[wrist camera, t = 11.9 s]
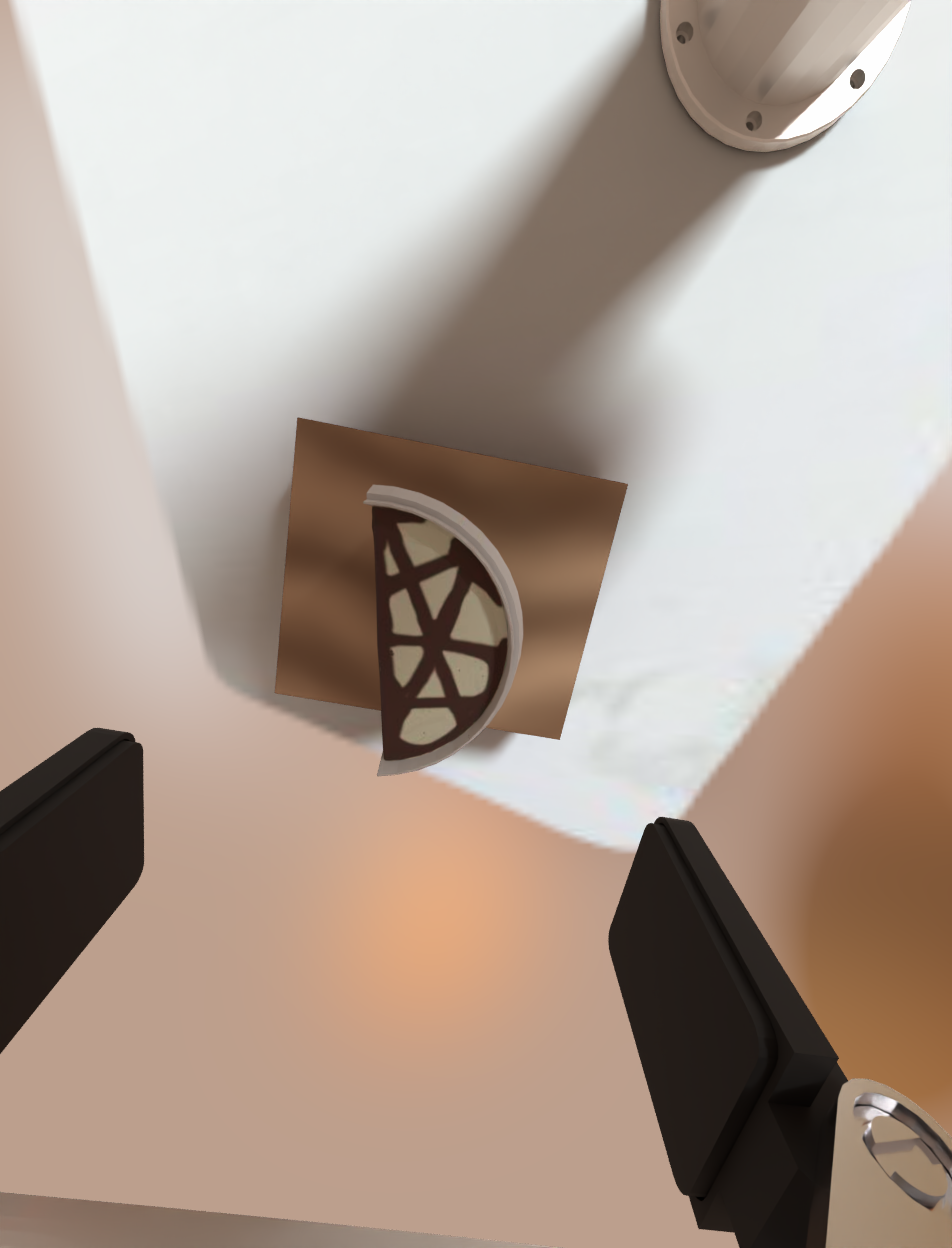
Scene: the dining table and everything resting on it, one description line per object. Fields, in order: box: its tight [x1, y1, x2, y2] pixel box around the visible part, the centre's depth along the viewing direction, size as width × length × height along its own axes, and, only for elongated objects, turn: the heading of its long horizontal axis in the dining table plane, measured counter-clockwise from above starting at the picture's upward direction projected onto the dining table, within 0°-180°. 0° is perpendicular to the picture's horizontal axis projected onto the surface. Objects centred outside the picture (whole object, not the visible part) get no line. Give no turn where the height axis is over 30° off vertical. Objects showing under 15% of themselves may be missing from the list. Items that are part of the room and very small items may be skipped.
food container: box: [363, 485, 523, 776], centre depth 24 cm, size 12×6×10 cm, turn 179°
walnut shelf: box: [275, 418, 628, 740], centre depth 32 cm, size 16×18×6 cm
